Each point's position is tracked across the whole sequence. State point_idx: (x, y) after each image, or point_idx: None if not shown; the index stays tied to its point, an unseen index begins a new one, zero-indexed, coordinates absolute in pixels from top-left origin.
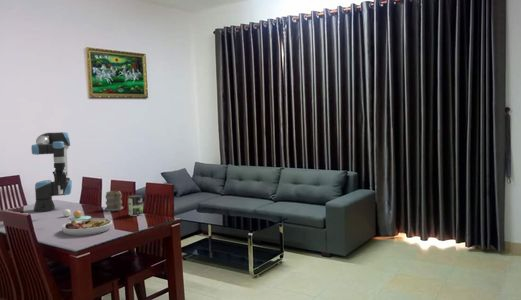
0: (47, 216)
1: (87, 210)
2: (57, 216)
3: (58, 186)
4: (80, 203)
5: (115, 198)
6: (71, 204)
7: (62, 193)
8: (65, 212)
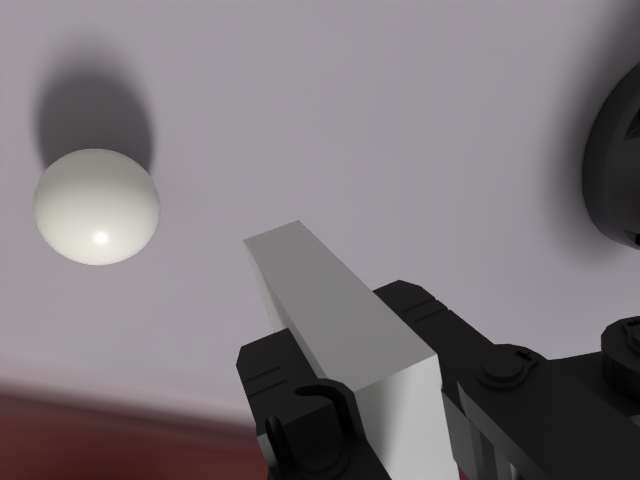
0: (325, 14)
1: None
2: (216, 106)
3: (396, 340)
4: None
5: None
6: None
7: (271, 319)
8: (45, 176)
